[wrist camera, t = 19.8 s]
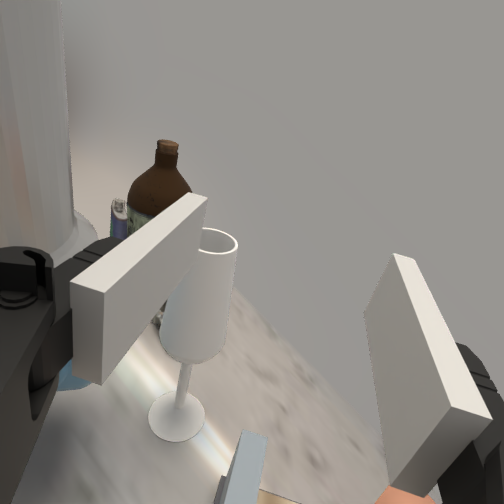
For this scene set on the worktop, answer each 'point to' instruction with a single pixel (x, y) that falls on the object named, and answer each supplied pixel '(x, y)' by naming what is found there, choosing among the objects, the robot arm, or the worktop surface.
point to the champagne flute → (195, 331)
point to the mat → (221, 486)
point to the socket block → (271, 499)
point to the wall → (245, 470)
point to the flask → (118, 219)
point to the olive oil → (155, 188)
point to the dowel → (402, 497)
